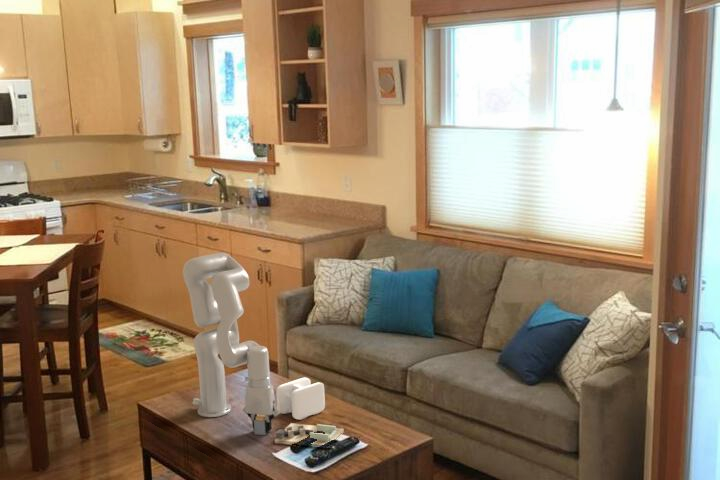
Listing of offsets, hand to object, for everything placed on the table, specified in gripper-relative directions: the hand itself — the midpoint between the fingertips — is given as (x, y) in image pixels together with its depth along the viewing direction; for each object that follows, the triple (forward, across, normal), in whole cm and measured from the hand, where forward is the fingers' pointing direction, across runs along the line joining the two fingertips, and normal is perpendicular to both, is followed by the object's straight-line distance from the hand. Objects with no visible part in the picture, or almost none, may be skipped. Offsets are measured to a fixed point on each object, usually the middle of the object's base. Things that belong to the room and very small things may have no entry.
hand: (262, 430), depth 277 cm
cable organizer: (+1, +7, +19) cm, 20 cm away
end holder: (0, +23, 0) cm, 23 cm away
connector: (+1, 0, 0) cm, 1 cm away
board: (+1, +18, 0) cm, 18 cm away
